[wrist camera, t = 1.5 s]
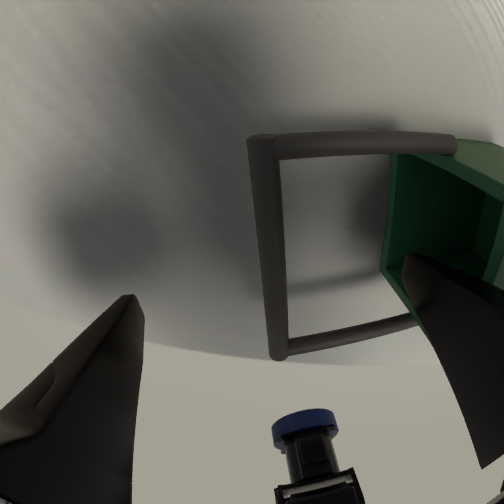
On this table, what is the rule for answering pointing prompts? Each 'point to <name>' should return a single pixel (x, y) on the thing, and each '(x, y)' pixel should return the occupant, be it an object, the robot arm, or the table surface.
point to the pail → (398, 217)
